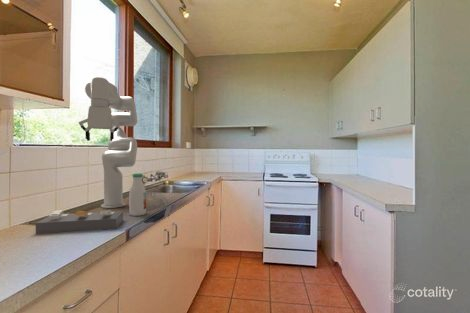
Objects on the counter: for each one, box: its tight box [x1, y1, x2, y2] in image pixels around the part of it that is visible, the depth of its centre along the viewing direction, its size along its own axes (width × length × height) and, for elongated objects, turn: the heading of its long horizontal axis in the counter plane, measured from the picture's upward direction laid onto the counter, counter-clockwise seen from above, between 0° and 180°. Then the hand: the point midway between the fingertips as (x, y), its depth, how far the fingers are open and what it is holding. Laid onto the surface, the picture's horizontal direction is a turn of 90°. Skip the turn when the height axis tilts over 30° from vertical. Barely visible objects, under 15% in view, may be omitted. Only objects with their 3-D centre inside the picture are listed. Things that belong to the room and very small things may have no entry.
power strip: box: [35, 210, 124, 234], centre depth 107 cm, size 14×28×4 cm, turn 103°
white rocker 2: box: [99, 209, 112, 214], centre depth 108 cm, size 5×3×2 cm, turn 13°
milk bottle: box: [128, 173, 147, 217], centre depth 128 cm, size 8×8×20 cm
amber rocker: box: [75, 210, 89, 216], centre depth 106 cm, size 5×3×2 cm, turn 13°
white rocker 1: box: [48, 209, 64, 219], centre depth 103 cm, size 5×3×2 cm, turn 13°
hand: (100, 140), depth 122 cm, fingers open, 9 cm apart
